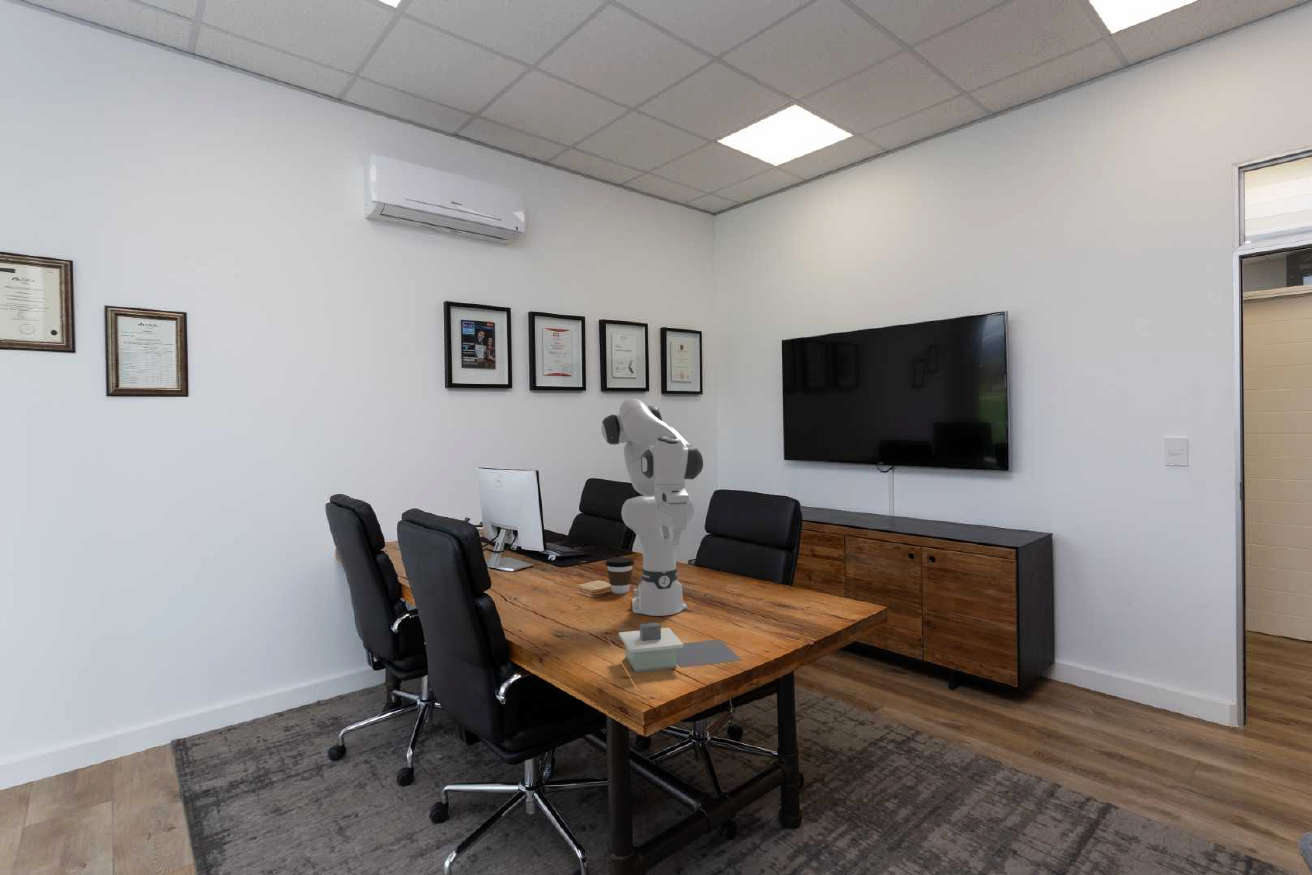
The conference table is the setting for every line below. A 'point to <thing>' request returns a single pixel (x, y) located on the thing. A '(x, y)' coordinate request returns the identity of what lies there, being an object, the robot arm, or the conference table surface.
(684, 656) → the mat
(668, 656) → the pale green open box
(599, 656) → the conference table surface
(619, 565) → the coffee cup
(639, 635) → the lid
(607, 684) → the conference table surface
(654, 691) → the conference table surface
